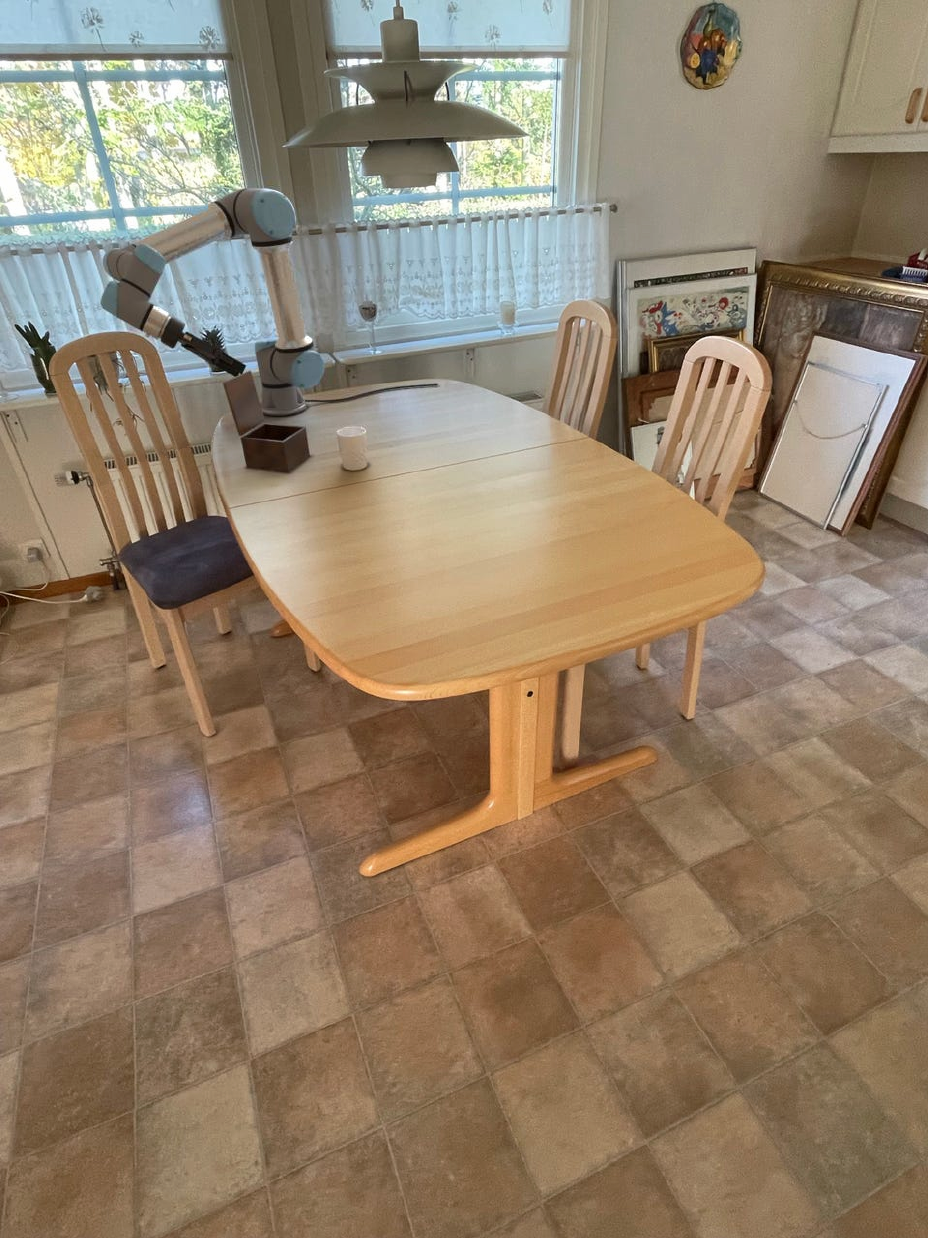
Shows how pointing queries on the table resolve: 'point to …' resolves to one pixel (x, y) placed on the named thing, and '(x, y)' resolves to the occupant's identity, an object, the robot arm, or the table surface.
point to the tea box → (275, 447)
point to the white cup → (353, 447)
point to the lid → (244, 402)
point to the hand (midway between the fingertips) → (241, 371)
